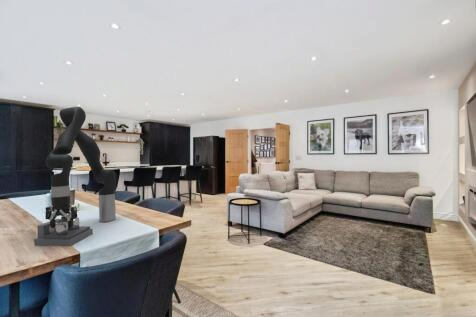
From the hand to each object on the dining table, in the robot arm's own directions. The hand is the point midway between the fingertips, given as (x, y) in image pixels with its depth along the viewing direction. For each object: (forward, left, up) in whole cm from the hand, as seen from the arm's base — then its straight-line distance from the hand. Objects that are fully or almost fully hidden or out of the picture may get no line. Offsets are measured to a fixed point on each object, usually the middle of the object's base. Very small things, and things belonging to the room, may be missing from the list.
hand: (61, 227), depth 118 cm
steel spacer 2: (-8, 0, -3) cm, 9 cm away
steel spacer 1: (0, 0, -3) cm, 3 cm away
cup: (-20, -12, -8) cm, 24 cm away
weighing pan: (-4, 0, -4) cm, 6 cm away
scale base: (-4, -2, -7) cm, 9 cm away
